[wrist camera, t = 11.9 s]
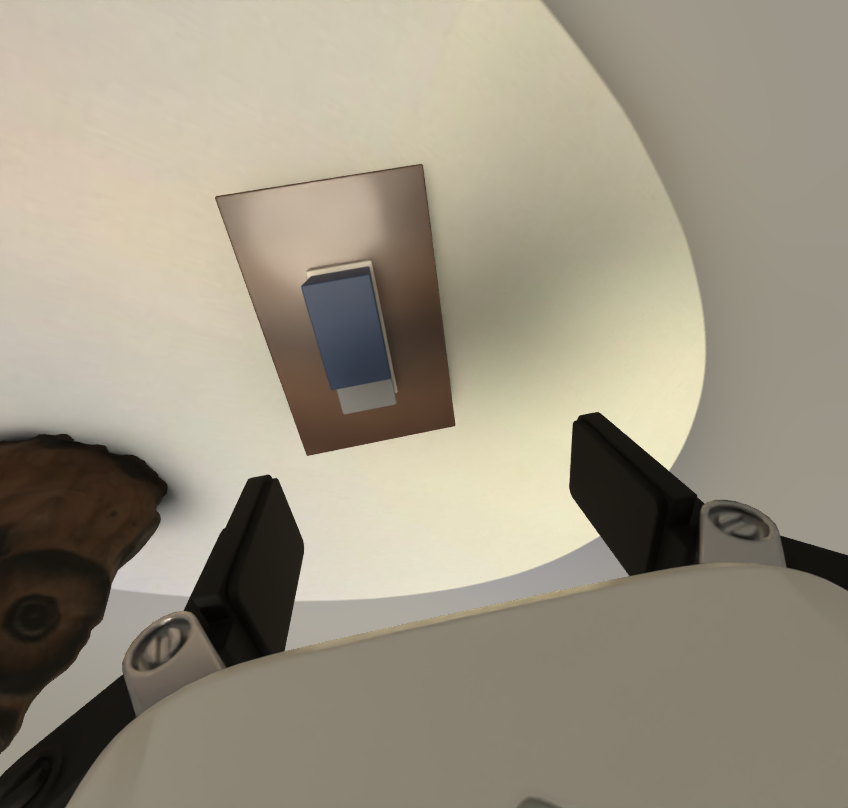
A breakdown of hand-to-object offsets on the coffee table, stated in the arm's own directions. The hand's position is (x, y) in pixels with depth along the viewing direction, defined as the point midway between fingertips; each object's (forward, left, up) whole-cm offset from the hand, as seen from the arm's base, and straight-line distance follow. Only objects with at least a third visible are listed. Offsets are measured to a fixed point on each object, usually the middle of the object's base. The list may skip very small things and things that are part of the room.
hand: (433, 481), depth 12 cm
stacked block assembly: (-1, -3, -16) cm, 16 cm away
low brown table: (-1, -3, -22) cm, 22 cm away
